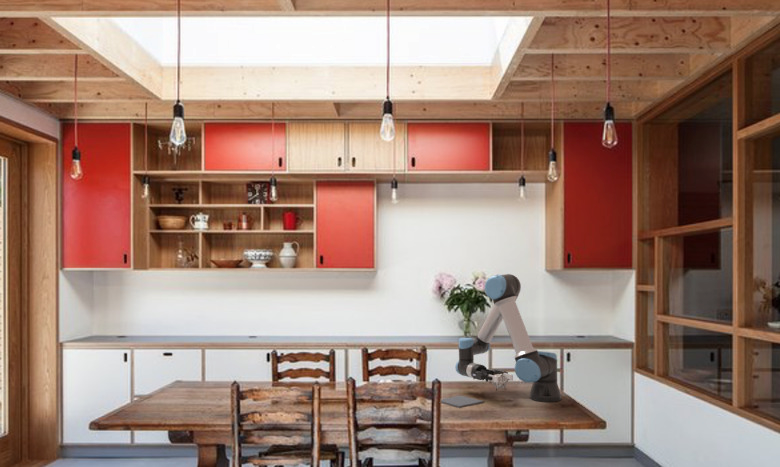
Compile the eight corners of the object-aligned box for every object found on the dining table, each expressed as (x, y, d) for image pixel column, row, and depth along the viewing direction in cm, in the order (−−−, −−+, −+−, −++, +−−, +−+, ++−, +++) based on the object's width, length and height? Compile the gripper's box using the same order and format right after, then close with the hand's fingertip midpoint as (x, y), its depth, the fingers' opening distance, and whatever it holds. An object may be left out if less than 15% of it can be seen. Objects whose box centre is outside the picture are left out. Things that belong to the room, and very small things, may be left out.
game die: (503, 398, 299) (508, 383, 294) (486, 391, 301) (491, 376, 296) (507, 385, 307) (513, 371, 301) (490, 379, 309) (496, 364, 303)
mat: (460, 397, 317) (460, 395, 317) (483, 402, 304) (483, 401, 304) (436, 401, 307) (436, 400, 307) (459, 407, 294) (459, 406, 294)
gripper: (494, 377, 322) (522, 384, 302) (460, 381, 312) (486, 389, 292) (493, 362, 322) (522, 368, 302) (459, 365, 313) (486, 372, 293)
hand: (504, 378), depth 297 cm, fingers closed on game die, 8 cm apart
